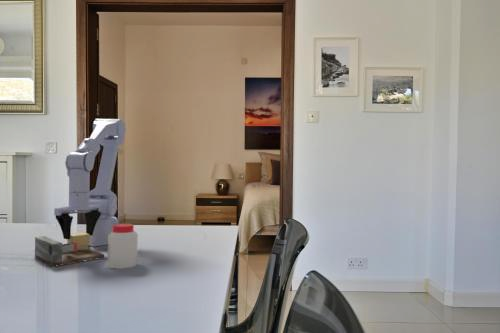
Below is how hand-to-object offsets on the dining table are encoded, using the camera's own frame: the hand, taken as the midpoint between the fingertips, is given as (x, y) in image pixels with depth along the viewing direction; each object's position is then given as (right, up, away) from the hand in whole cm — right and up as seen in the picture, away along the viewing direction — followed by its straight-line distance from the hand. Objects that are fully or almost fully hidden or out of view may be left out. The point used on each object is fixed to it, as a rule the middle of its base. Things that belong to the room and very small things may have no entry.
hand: (78, 237), depth 119 cm
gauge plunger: (+1, -2, -10) cm, 11 cm away
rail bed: (0, -5, -4) cm, 7 cm away
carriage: (0, -4, 0) cm, 3 cm away
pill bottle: (+17, -6, -11) cm, 21 cm away
